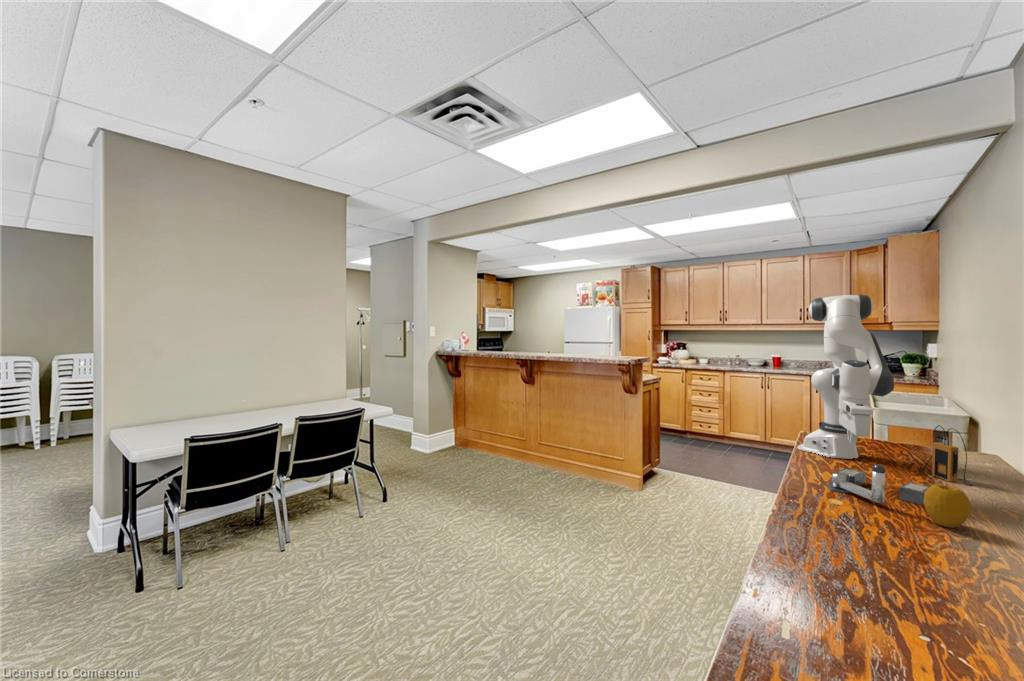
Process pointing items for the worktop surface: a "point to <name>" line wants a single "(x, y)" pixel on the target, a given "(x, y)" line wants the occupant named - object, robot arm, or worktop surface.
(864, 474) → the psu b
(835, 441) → the robot arm
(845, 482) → the grey crank handle
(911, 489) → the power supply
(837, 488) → the arm mount
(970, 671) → the worktop surface
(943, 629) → the worktop surface
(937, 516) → the apple
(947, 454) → the multimeter
